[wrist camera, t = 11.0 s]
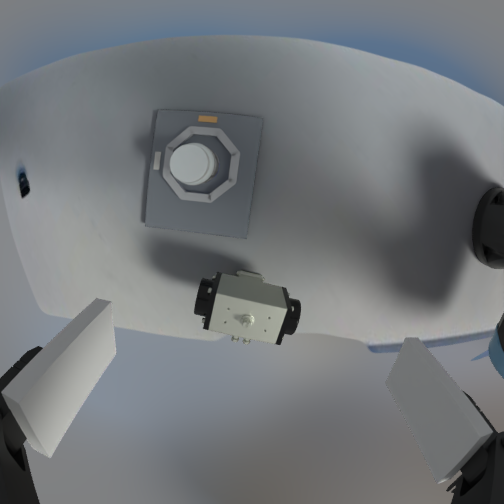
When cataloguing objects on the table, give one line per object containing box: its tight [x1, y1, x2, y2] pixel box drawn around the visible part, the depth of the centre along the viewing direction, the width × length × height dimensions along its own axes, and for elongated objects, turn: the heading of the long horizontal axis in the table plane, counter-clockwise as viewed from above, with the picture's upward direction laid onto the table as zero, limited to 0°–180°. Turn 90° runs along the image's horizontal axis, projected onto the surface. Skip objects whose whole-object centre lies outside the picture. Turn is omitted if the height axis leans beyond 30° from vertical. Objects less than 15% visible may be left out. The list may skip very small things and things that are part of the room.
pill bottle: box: [170, 143, 220, 185], centre depth 31 cm, size 5×5×8 cm
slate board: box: [145, 110, 263, 239], centre depth 35 cm, size 14×16×2 cm
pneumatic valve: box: [194, 270, 301, 345], centre depth 35 cm, size 6×12×12 cm, turn 76°
